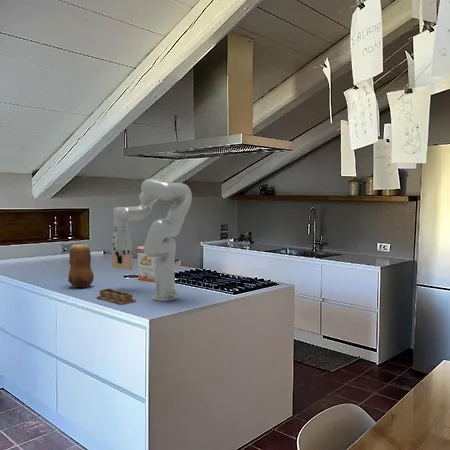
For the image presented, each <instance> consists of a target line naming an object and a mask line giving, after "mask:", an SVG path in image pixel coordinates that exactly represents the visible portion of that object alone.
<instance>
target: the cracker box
mask: <svg viewBox="0 0 450 450" xmlns="http://www.w3.org/2000/svg"><path fill="white" fill-rule="evenodd" d="M156 260H157V257H148V256H147V255H146V254H145V252H144V245H139V246H137V276H138V277H137V278H138V279H137V280H139V281H140V280H141V281H145V282H146V281H147V282H151V283H153V282H154V283H156Z"/></svg>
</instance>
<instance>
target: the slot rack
mask: <svg viewBox="0 0 450 450" xmlns="http://www.w3.org/2000/svg"><path fill="white" fill-rule="evenodd" d="M133 297H134V296H133V294H132V293H129V292H126V291H121V290H116V289H112V288H103V289H100V290H99V295H98V296H96V299H98V300H101V301H104V302H109V303H112V304H116V305H120V306H122V305H126V304H127V303H128V304H131V303H136V302H137V300H136V299H134V298H133Z"/></svg>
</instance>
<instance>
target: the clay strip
mask: <svg viewBox="0 0 450 450" xmlns="http://www.w3.org/2000/svg"><path fill="white" fill-rule="evenodd" d="M121 256H122V264H119V263H118V262H117V256H116V255H115V254H114V253H112V252H111V267H112V269H113V268H114V269H118V270H119V269H120V270H126V271H131V270H132V271H133V270H134V263H133V262H134V261H133V257H134V256H133V254H129V253H128V254H123V253H121Z"/></svg>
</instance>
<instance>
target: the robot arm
mask: <svg viewBox="0 0 450 450" xmlns="http://www.w3.org/2000/svg"><path fill="white" fill-rule="evenodd" d="M140 190H141V192H140V194H139V196H138V199H139V201H140V204H139V205H137V206H124V207H123V206H118V207H114V208H113V228H112V231H113V233H112V239H111V254H112V253H114V254H115V255H116V256H117V262H118V263H119V264H122V256H121V254H129V253H130V252H131V251H132V250H133V248H132V244H133V243H132V237H131V232H130V231H129V222H130V221H141V220H143V219H145V218H146V217H147V216H148V215H149V214H150V213H151V212H152V209H153V205H154V204H155V203H156V202H158V200H161V201H174V203H173V204H172V205H171V206H170V208H169V209H168V212H167V215H166V217H165V218H159V219H155V220H154V221H153V222H152V224H151V225H150V227H149V230H148V233H147V235H146V238H145V240H144V245H143V246H144V252H145V254H146V255H147V256H148V257H157V260H156V282H155V295H153V296H152V299H153V300H154V301H160V302H166V301H168V302H169V301H174V300H177V299H178V297H179V293H177V290H176V288H175V285H176V284H175V276H176V275H175V259H176V258H175V257H176V251H177V244H176V241H175V239H173V238H174V237H177V236H178V235H179V234H180V231H181V229H182V226H183V223H184V221H185V219H186V215H187V214H188V211H189V209H190V206H191V204H192V200H193V196H192V195H193V194H192V191H191V188H190V187H189V186H188V185H187V184H185V183H184V182H183V183H182V182H167V181H166V180H164V179H161V178H146V179H144V180H143V181H142V183H141V187H140ZM121 252H122V253H121Z"/></svg>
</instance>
